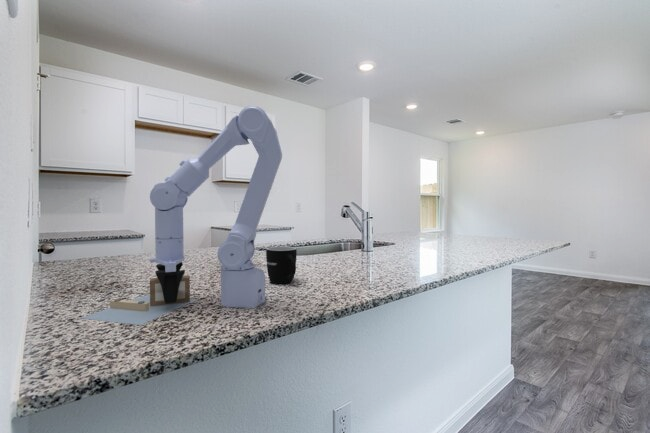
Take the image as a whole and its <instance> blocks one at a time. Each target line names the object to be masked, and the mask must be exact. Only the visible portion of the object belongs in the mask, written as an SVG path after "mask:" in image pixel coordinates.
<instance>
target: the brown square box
mask: <svg viewBox="0 0 650 433" xmlns="http://www.w3.org/2000/svg"><path fill="white" fill-rule="evenodd" d="M190 278H191V277H190V275H189V274H187V275H186V274H184V275H183V277H182V279H181V282H180V285H179V290H178V296H177V300H176V302H175V303H184V302H190V299H191V290H190V289H191V283H190V280H191V279H190ZM149 295H150V306H158V305H166V303H165V301H164V297H163V291H162V287H161V284H160V281H159V279H158V278H157V277H151V278H150V279H149ZM175 303H167V304H175Z"/></svg>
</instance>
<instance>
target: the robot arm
mask: <svg viewBox="0 0 650 433" xmlns="http://www.w3.org/2000/svg"><path fill="white" fill-rule="evenodd" d="M273 124H274V123H273V122H272V121H271V119H270V117H269V116H268V114H267V113H266V111H265V110H264V109H263V108H262V107H260V106H257V105H249V106H245V107H244V108H242V109H241V111H240V112H239V113H238V115H235V116H233V117H232V118H231V119H230V121H229V122H228V124H227V125H226V126H225V128H224V129H223V130H222V131H221V132H220V133H219V134H218V135H217V137H215V138H214V140H212V142H211V143H210V144H209V145H208V146H207V147H206V148H205V149H204V151H202V152H201V154H200V155H199V156H198V157H197V158H188V159H187V160H182V161H180V162H179V168H178V169H176V170H175V172H174V173H172V175H171V176H167V177H166V178H165V179H164V181H165V182H159V183H156V184H154V186H153V188H152V189H151V191H150V193H149V200H150V203H151V204H152V206H153V207H154V229H155V230H154V236H155V237H154V238H155V239H154V240H155V241H154V242H155V243H154V244H155V248H154V250H155V257H149V262H150V263H156V264H155V267H156V269H157V270H155V275H156V276H155V277H156V278H158V279H159V281H160V284H161V287H162V291H163V297H164V301H165V303H166V304H167V303H175V302H176V300H177V296H178V290H179V285H180V282H181V279H182V277H183V276H185V273H186V270H184V269H182V267H183V262H185V260H186V258H185V256H184V255H185V254H184V207H185V206H186V205H187V203H188V201H189V200H188V199H189V198H188V197H190V196H192V194H193V193H194V192H195V191H196V190H197V189H199V187H201V186H202V184H203V183H205V182H206V181H207V180H208V179H209V177H210V169H211V168H212V167H213V166H214V165H216V164H217V163H218V162H219V161H220V160H222V158H223V157H224V156H225V155H226V154H229V152H230V151H231V150H232V149H234V148H235V147H236V146H237V147H238V146H246V145H250V141H251V143H252V145H253V148H254V150H255V151H256V153H257V154H258V158H257V161H256V163H255V167H254V169H253V172H252V174H251V178H250V180H249V183H248V186H247V189H246V192H245V194H244V197H243V200H242V203H241V205H240V208H239V212H238V214H237V217H236V219H235V223H234V225H233V226H232V227H231V229H230V231H229V232H228V235H227V238H226V239H225V240H224V241H223V242H222V243H221V244H220V246H219V247H218V249H217V259H218V261H219V263H220V264H221V265H220V305H221V306H223V307H226V308H246V309H255V308H256V307H258V306H260V305H261V304H262V303H264V302H266V274H265V272H264V270H263V269H260V268H256V267H255V266H254V264H255V263H254V262H253V261H252V258H253V256H254V254H255V251H256V250H255V249H256V247H255V239H256V237H257V229H258V226H259V223H260V220H261V217H262V215H263V212H264V209H265V207H266V204H267V200H268V198H269V195H270V193H271V190H272V187H273V183H274V180H275V179H276V176H277V173H278V170H279V168H280V164H281V161H282V159H283V153H282V152H283V151H282V149H281V145H280V144H281V143H280V140H279V136H278V132H277V130H276V128H275V126H274V125H273ZM181 269H182V270H181Z"/></svg>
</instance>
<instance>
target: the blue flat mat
mask: <svg viewBox="0 0 650 433" xmlns="http://www.w3.org/2000/svg"><path fill="white" fill-rule="evenodd" d="M197 300H198V299H195V298H190V302H184V303H175V304H166V305H158V306H150V294H149V295H148V294H146V295H143V296H140V297H137V298H134V299H132V300H122V299H121V298H118V299H117V298H116V299H111V300H109V307H108V308H105V309H103V310H100V311H97V312H93V313H91V314H88V315H85V316H83V317H80V318H79V319H82V320H92V321H101V322H109V323H119V324H127V325H137V326H142V325H144V324H146V323H149V322H151V321H154V320H156V319H158V318H160V317H163V316H164V315H167V314H169V313H171V312H173V311H176V310H178V309H180V308H182V307H184V306H186V305H189V304H191V303H194V302H196V301H197Z"/></svg>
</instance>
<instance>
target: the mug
mask: <svg viewBox="0 0 650 433" xmlns="http://www.w3.org/2000/svg"><path fill="white" fill-rule="evenodd" d="M297 255H298V254H297V247H294V246H271V247H267V248H266V250H265V256H266V258H265V260H266V268H267V269H266V270H267V276H268V279H269V282H270V283H271V284H273V285H279V284H282V285H288V283H289V284H291V283H292V282H293V281H294V278H295V275H296V272H297Z"/></svg>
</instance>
